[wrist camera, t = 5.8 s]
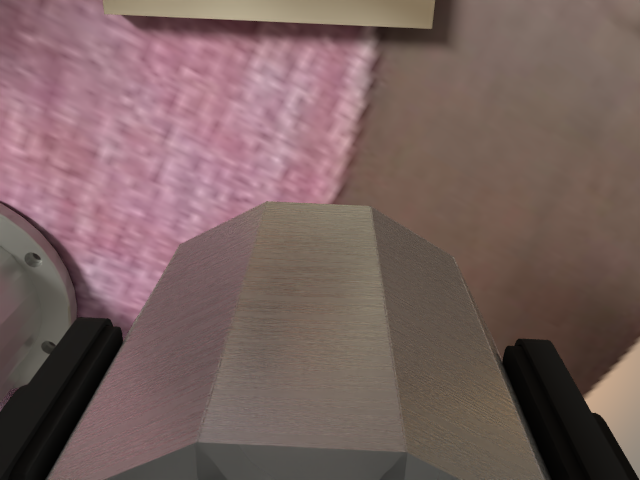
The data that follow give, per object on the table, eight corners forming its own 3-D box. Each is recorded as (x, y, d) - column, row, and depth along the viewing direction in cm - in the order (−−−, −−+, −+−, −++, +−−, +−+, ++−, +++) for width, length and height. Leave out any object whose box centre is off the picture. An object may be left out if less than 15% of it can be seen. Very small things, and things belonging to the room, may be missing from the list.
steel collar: (458, 495, 14) (541, 846, 8) (154, 481, 14) (35, 820, 8) (512, 212, 11) (695, 464, 5) (124, 194, 11) (-91, 428, 5)
